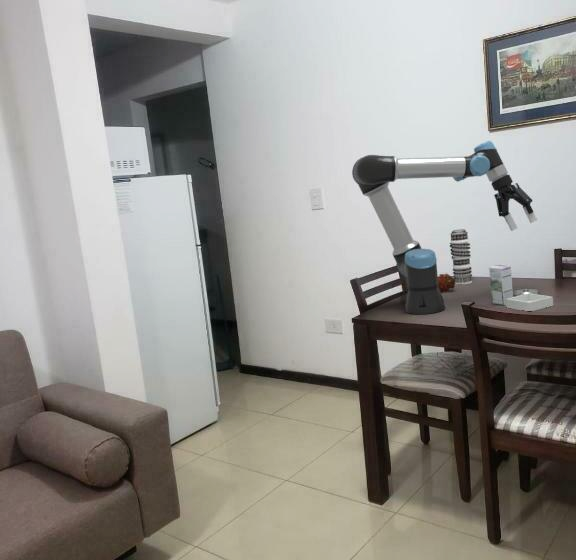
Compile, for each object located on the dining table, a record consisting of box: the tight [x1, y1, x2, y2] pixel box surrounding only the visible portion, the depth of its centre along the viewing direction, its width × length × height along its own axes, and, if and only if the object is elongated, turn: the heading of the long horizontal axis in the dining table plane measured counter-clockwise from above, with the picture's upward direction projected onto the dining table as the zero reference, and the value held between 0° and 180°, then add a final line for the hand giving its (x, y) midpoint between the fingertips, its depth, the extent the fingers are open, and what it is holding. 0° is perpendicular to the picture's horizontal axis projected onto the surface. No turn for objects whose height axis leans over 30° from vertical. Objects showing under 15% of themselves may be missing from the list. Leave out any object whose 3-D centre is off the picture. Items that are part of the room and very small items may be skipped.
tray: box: [505, 293, 554, 312], centre depth 202 cm, size 11×11×3 cm
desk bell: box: [513, 288, 541, 297], centre depth 217 cm, size 10×10×3 cm
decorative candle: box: [449, 228, 473, 285], centre depth 260 cm, size 9×9×25 cm
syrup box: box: [488, 264, 514, 306], centre depth 211 cm, size 6×6×14 cm
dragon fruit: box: [438, 273, 457, 293], centre depth 249 cm, size 8×8×12 cm
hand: (524, 225), depth 221 cm, fingers open, 13 cm apart
